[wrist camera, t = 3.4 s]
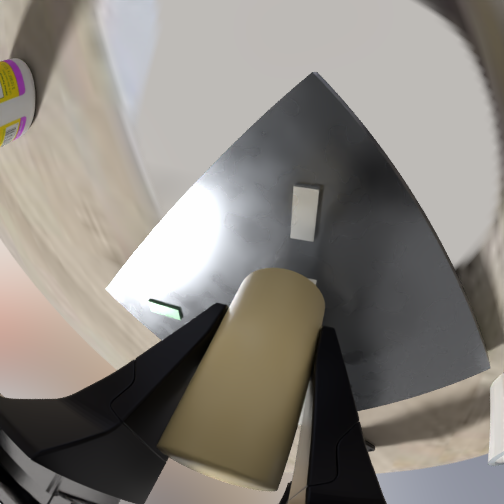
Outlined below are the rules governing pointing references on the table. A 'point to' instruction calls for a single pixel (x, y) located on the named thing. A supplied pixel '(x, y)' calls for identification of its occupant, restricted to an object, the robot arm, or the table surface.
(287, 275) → the beige rounded piece
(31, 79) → the supplement bottle
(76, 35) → the table surface
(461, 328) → the base
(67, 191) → the table surface
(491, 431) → the shot glass
